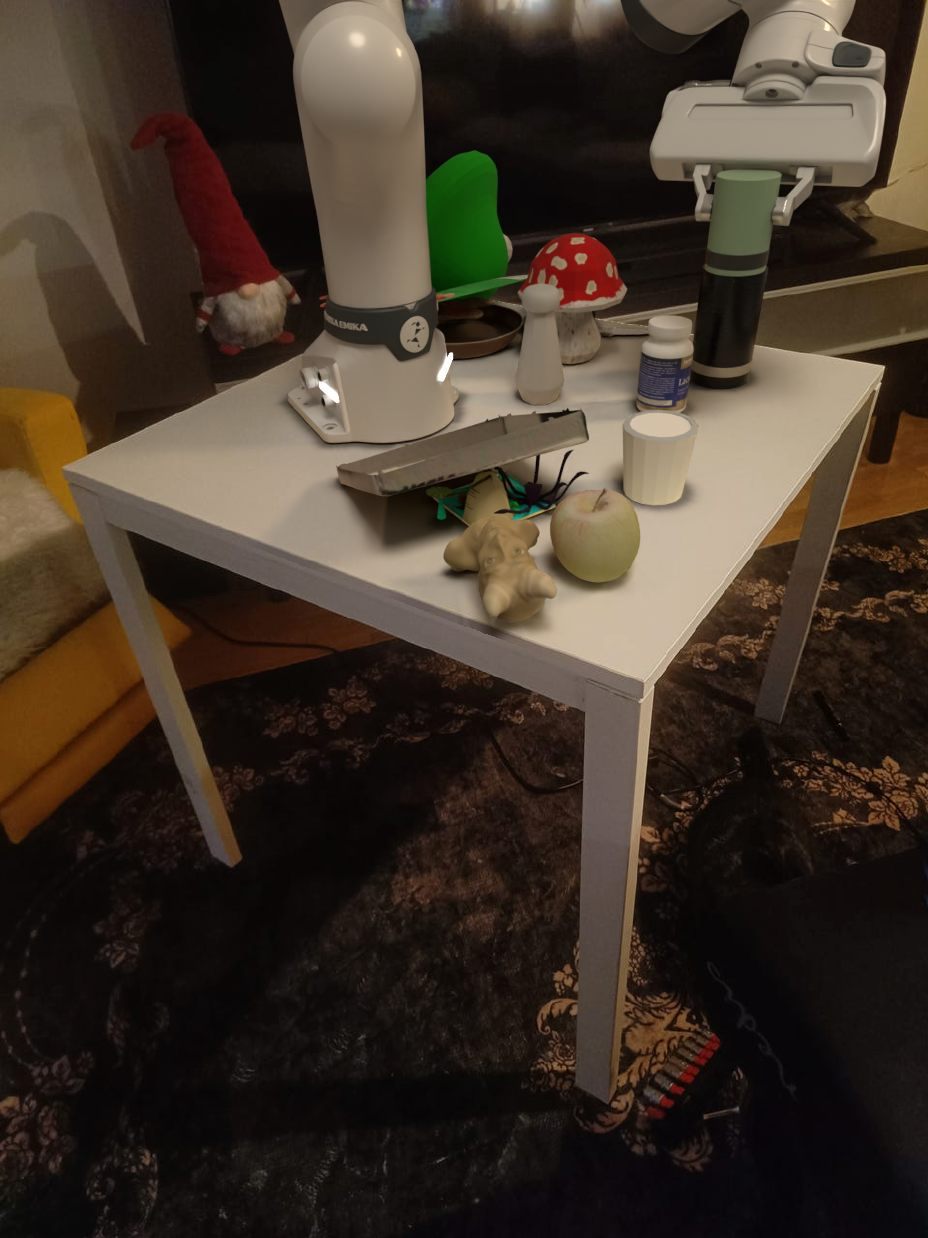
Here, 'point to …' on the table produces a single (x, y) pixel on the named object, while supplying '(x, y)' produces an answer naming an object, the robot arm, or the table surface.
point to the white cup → (657, 455)
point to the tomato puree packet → (478, 287)
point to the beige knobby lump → (503, 566)
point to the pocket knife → (619, 331)
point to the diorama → (498, 496)
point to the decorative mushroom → (577, 290)
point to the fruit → (595, 534)
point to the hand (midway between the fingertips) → (741, 219)
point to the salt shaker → (540, 347)
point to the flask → (726, 329)
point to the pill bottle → (665, 365)
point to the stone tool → (462, 308)
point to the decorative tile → (465, 451)
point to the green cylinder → (741, 221)
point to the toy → (465, 224)
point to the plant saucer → (481, 332)
